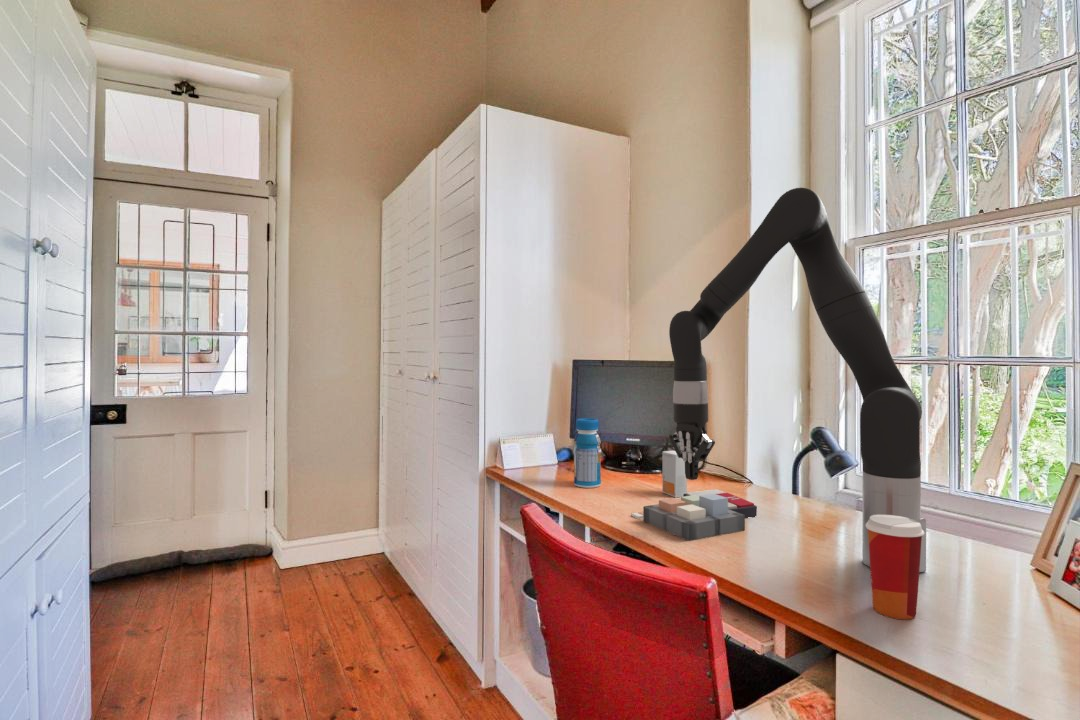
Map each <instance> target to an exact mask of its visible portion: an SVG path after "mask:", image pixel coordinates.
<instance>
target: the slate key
mask: <svg viewBox="0 0 1080 720" xmlns="http://www.w3.org/2000/svg"><path fill="white" fill-rule="evenodd" d="M699 507H701V508H704V509H706V514H707V515H710V516H719V515H725V514H728V498H726V497H723V496H720V495H716V494H709V495H702V496H699Z"/></svg>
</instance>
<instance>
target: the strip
mask: <svg viewBox="0 0 1080 720" xmlns="http://www.w3.org/2000/svg"><path fill="white" fill-rule="evenodd" d="M630 515H631V517H633V518H634V519H637V520H640V519H643V511H637V512H633V513H632V512H631V514H630Z"/></svg>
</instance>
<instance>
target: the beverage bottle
mask: <svg viewBox="0 0 1080 720" xmlns="http://www.w3.org/2000/svg"><path fill="white" fill-rule="evenodd" d="M575 429H576V431H577V433H576V434H575V436H574V439H573V444H574V447H573V451H572V452H573V467H574V469H573V472H574V473H573V475H574V477H573V484H574V486H576V487H578V488H583V489H594V488H599V487H600V486H601V485H602V478H601V469H602V468H601V454H602V448H601V443H602V442H601V441H602V440H601V437H600V435H599V433H598V432H597V431H599V418H592V417H591V418H590V417H589V418H587V417H583V418H582V417H581V418H577V419H576V420H575Z"/></svg>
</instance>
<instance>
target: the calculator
mask: <svg viewBox="0 0 1080 720" xmlns="http://www.w3.org/2000/svg"><path fill="white" fill-rule="evenodd" d="M709 494H716V495H720V496H723V497H726V498H728V509H729V510H732V511H735V512H738V513H741V514H744V515H745V519H749V518H748V517H752V518H756V517H755V516H757V515H758V514H757V513H758V511H757V509H758V508H757V507H758V506H757V505H755V503H754V502H752V501H749V500H747V499H743V498H742V497H739V496H737V495H734V494H732V493H729V492H725V491H722V490H720V489H718V488H716V489H707V490H706V489H705V490H699V491H690V492H689V491H687V493H686V494H684V495H683V497H684V496H691V495H697V496H702V495H709Z"/></svg>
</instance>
